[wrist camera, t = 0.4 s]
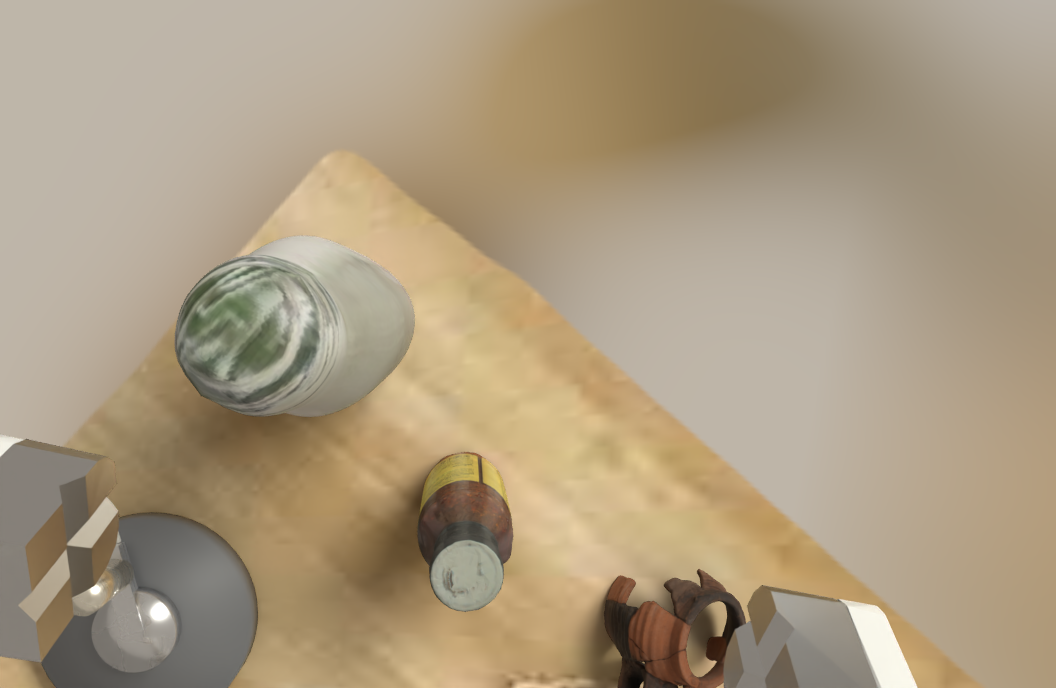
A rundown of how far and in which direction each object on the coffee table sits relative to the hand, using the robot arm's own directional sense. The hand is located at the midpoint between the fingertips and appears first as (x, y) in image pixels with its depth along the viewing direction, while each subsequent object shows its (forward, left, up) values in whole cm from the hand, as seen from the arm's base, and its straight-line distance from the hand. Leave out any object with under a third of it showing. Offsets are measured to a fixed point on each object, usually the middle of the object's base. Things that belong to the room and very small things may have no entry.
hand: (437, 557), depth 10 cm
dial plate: (-14, +30, -52) cm, 62 cm away
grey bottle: (+4, +9, -52) cm, 53 cm away
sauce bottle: (-11, +4, -52) cm, 54 cm away
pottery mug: (-26, -8, -52) cm, 59 cm away
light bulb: (-12, +30, -50) cm, 59 cm away
